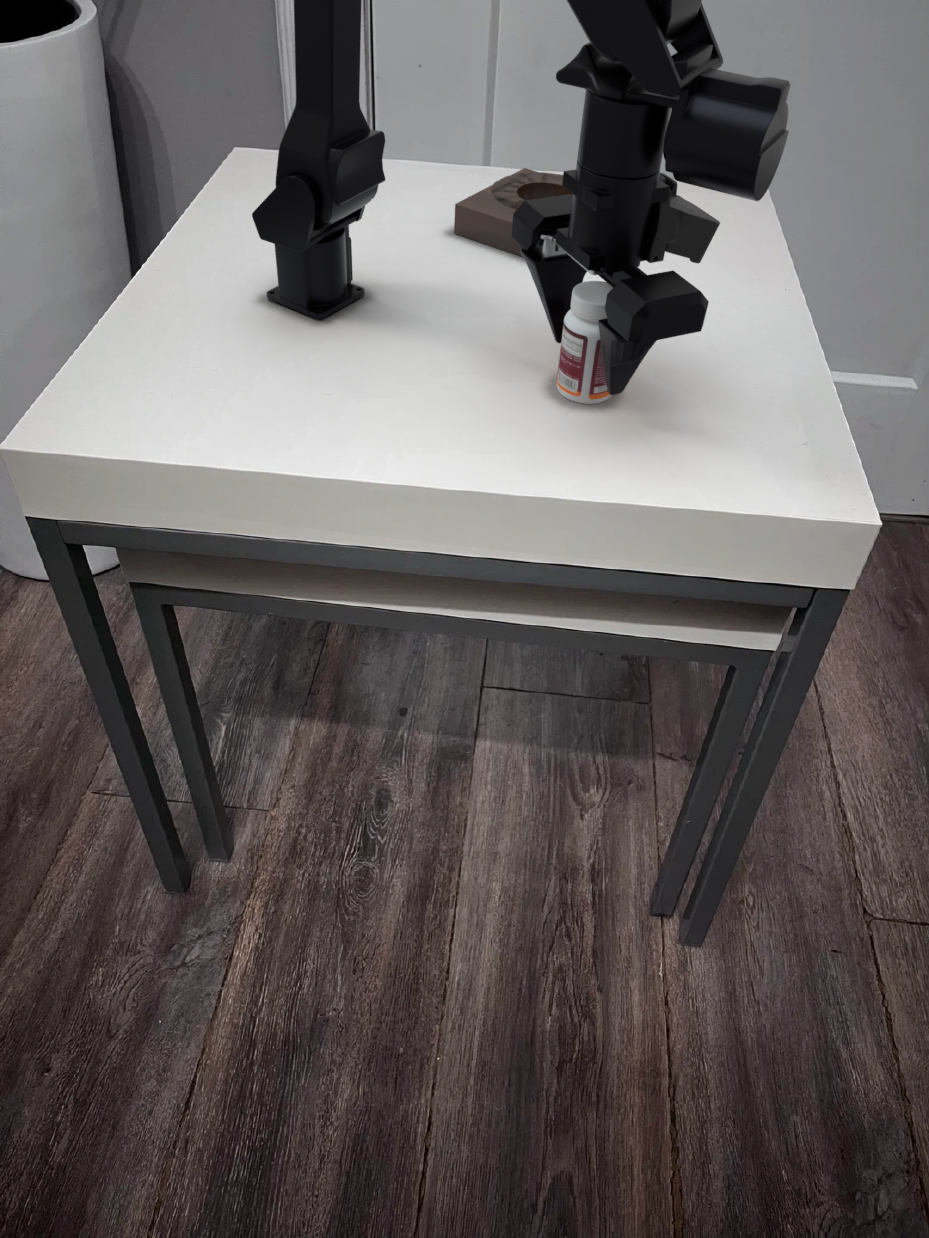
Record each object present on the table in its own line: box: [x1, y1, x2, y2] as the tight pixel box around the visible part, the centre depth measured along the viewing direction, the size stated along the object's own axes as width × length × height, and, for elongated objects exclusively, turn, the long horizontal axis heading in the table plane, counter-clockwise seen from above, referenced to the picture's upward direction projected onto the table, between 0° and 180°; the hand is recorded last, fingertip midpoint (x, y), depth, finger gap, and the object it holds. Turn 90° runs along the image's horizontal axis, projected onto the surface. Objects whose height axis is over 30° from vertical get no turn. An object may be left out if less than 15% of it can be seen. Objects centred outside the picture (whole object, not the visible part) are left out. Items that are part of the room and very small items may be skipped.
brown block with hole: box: [453, 167, 572, 258], centre depth 100 cm, size 14×11×3 cm
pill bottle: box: [556, 280, 613, 405], centre depth 76 cm, size 5×5×8 cm
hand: (587, 366), depth 77 cm, fingers open, 8 cm apart
